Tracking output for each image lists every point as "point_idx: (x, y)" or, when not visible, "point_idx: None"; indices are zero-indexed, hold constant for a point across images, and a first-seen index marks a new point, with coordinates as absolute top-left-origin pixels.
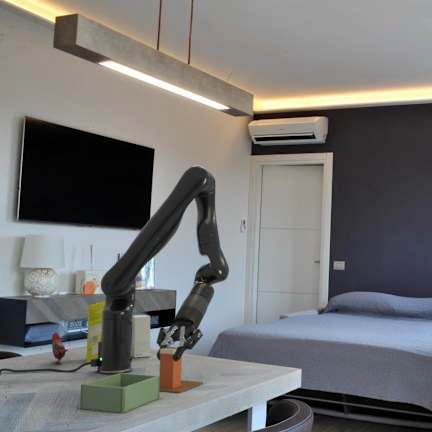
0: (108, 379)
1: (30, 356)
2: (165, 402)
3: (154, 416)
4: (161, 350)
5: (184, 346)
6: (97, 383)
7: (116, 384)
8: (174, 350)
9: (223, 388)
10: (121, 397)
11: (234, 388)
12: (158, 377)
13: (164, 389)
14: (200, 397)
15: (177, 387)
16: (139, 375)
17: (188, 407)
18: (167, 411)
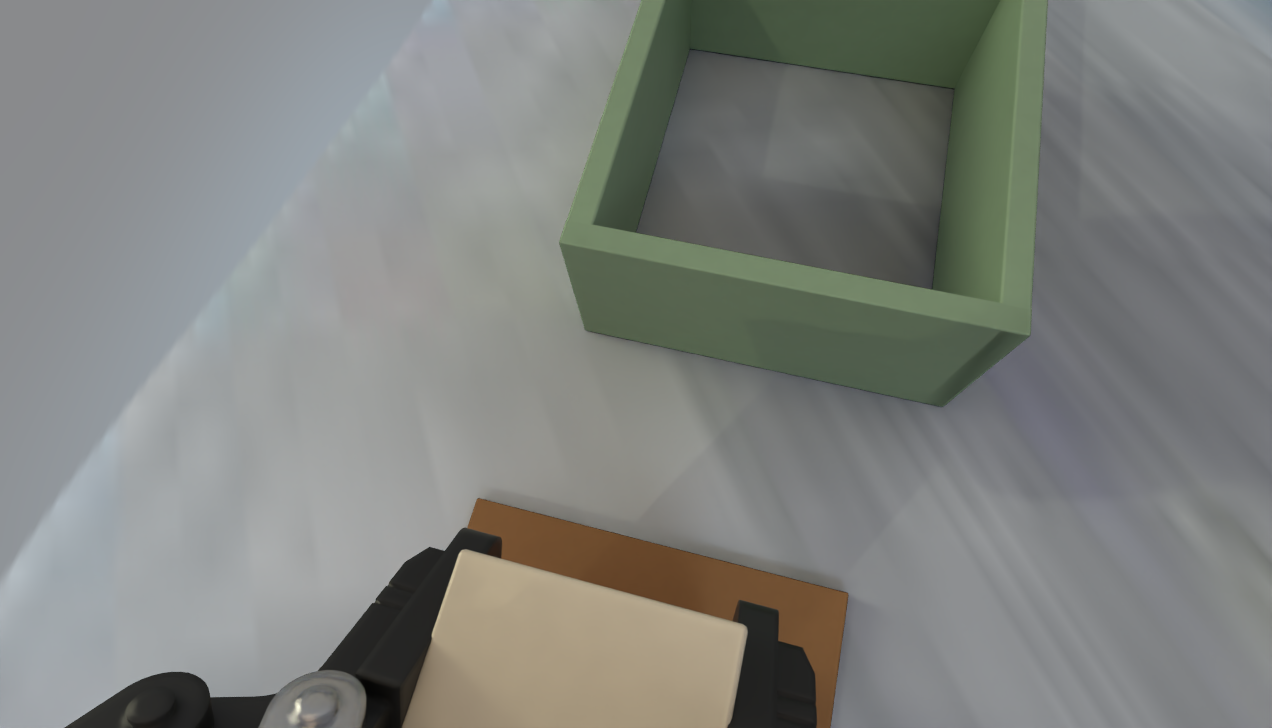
0: (1002, 167)
1: None
2: (506, 242)
3: (479, 3)
4: (712, 617)
5: (261, 696)
6: (1008, 67)
7: (964, 291)
8: (455, 572)
9: None
10: None
11: (20, 713)
12: (566, 227)
13: (630, 561)
14: (291, 383)
15: None
16: (772, 260)
17: (333, 157)
18: (436, 80)
